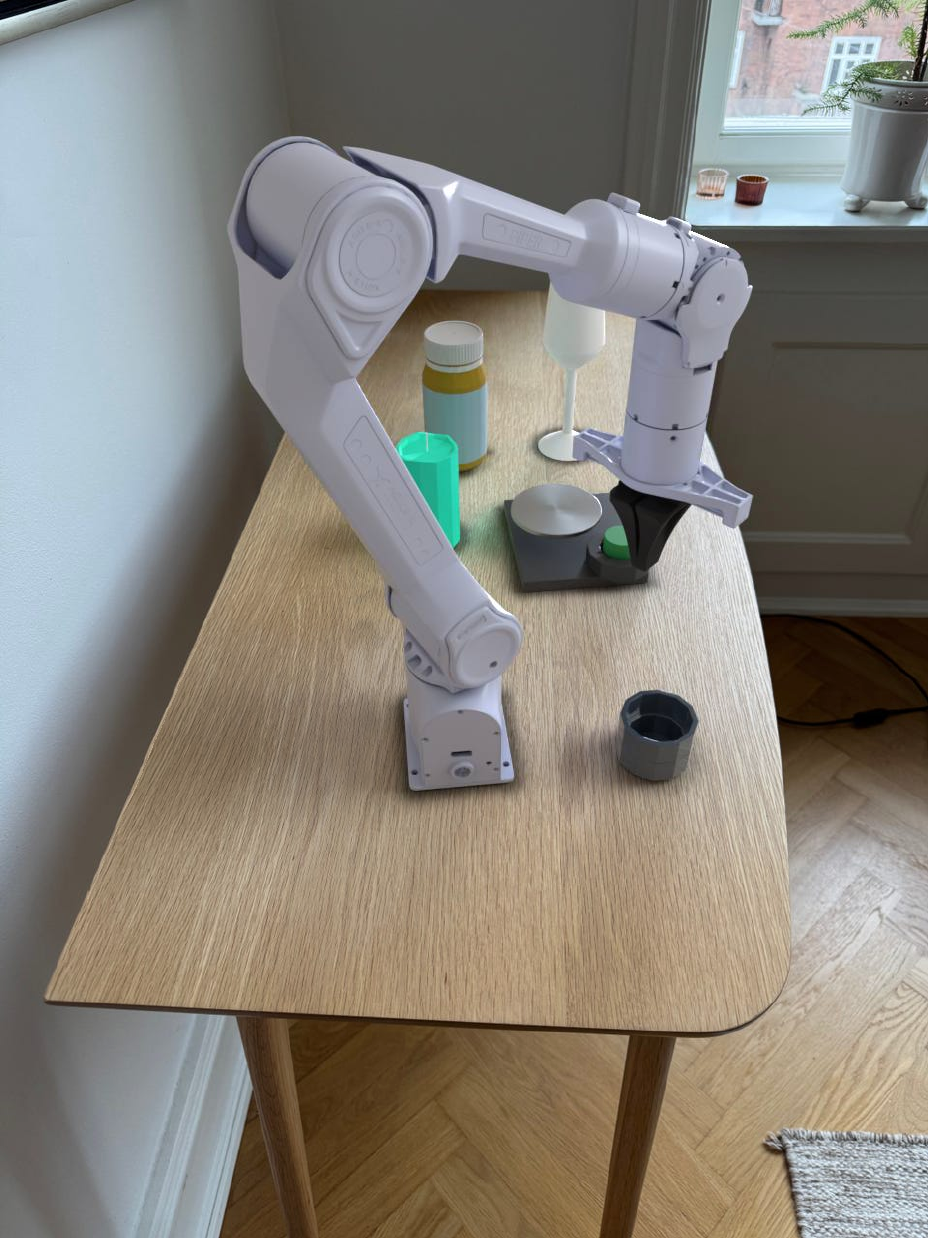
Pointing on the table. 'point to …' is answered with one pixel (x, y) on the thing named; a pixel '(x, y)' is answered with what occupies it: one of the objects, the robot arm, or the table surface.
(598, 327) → the champagne flute
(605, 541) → the tare button
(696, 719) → the faceted grey cup
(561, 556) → the scale
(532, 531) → the scale pan
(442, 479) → the candle
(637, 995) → the table surface
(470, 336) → the bottle
